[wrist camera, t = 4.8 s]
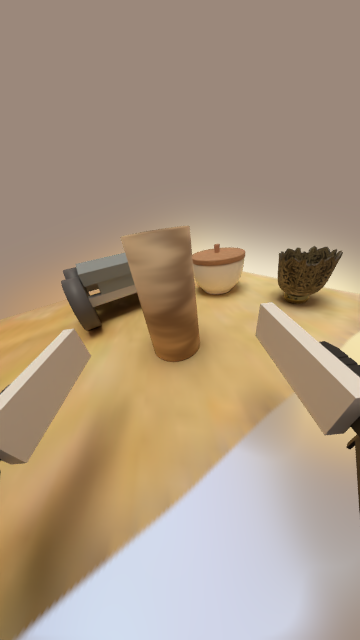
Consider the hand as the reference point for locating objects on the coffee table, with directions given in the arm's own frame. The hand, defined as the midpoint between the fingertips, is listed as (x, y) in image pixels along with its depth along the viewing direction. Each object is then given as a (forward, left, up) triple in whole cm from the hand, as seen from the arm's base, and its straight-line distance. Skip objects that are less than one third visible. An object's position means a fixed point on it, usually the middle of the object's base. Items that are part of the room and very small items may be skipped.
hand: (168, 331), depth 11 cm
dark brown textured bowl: (+25, +3, -8) cm, 27 cm away
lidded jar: (+20, +17, -8) cm, 28 cm away
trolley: (+1, +27, -8) cm, 28 cm away
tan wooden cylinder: (+3, +7, -8) cm, 11 cm away
